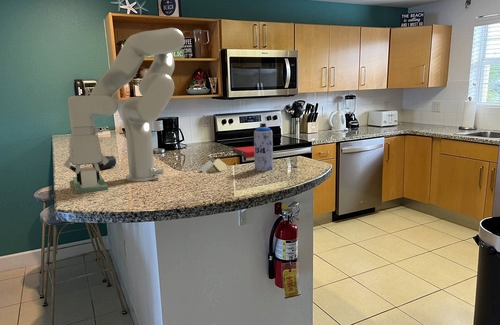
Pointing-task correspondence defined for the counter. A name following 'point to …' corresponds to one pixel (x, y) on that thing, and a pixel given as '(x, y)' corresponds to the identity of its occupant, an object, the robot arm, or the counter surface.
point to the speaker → (110, 164)
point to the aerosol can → (263, 148)
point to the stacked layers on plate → (214, 166)
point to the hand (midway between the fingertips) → (88, 182)
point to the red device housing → (244, 151)
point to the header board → (100, 187)
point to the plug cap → (88, 177)
